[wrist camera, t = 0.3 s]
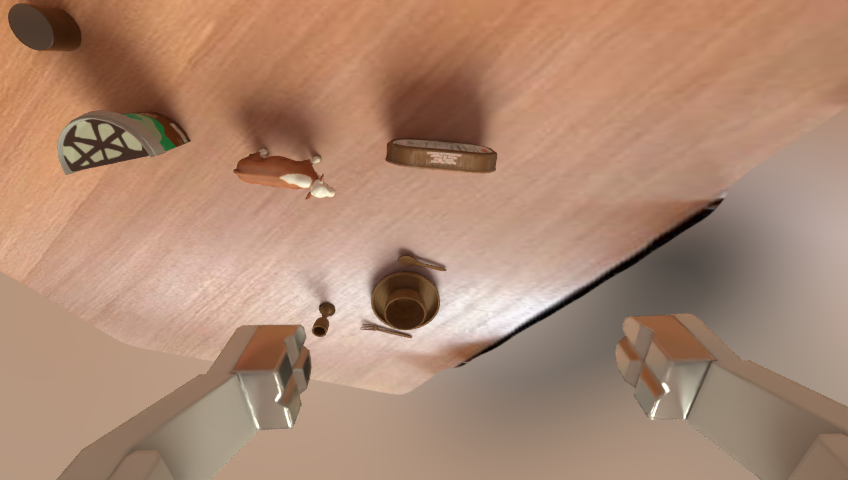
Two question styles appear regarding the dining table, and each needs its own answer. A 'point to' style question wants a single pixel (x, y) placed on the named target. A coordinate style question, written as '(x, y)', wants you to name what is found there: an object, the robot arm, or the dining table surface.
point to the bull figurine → (283, 173)
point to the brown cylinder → (44, 27)
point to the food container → (116, 138)
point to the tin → (441, 155)
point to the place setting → (396, 301)
